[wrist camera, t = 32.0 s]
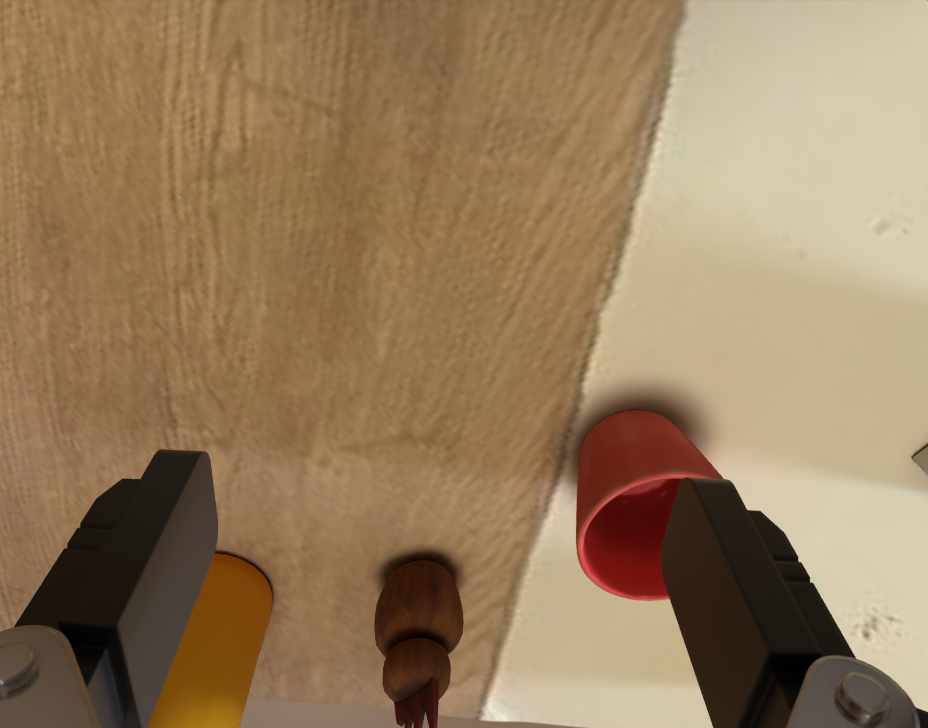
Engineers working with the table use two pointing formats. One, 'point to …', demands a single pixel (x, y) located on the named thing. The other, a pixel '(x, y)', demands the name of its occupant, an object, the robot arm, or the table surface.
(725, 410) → the table surface
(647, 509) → the flower pot
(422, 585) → the wooden figurine
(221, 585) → the beer bottle
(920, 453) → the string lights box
